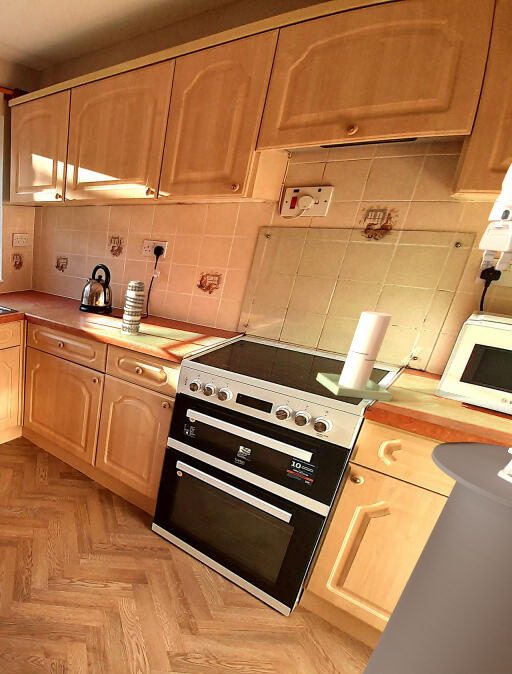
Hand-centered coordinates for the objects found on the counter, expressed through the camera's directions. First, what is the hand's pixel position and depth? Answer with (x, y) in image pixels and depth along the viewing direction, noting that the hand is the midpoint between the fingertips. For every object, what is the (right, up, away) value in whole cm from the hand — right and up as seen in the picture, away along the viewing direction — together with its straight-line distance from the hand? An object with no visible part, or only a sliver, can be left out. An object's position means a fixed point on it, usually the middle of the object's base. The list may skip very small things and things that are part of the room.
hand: (492, 268), depth 114 cm
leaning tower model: (-70, -6, +93) cm, 117 cm away
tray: (-16, -33, +26) cm, 45 cm away
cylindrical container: (-17, -33, +26) cm, 45 cm away
